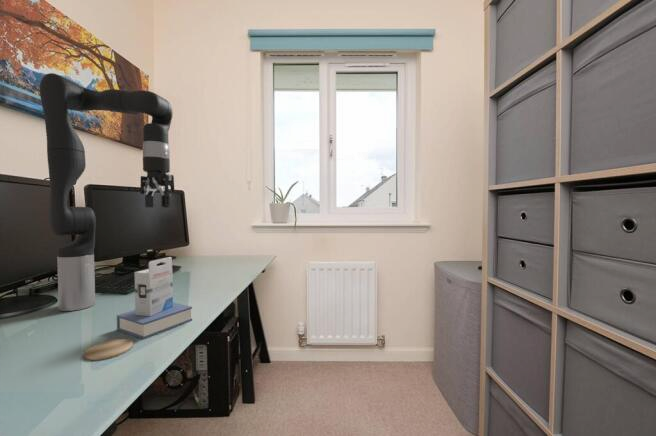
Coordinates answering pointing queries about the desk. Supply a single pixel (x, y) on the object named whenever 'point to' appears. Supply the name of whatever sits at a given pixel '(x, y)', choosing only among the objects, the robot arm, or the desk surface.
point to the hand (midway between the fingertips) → (157, 207)
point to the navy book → (153, 321)
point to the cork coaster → (108, 349)
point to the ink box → (154, 288)
